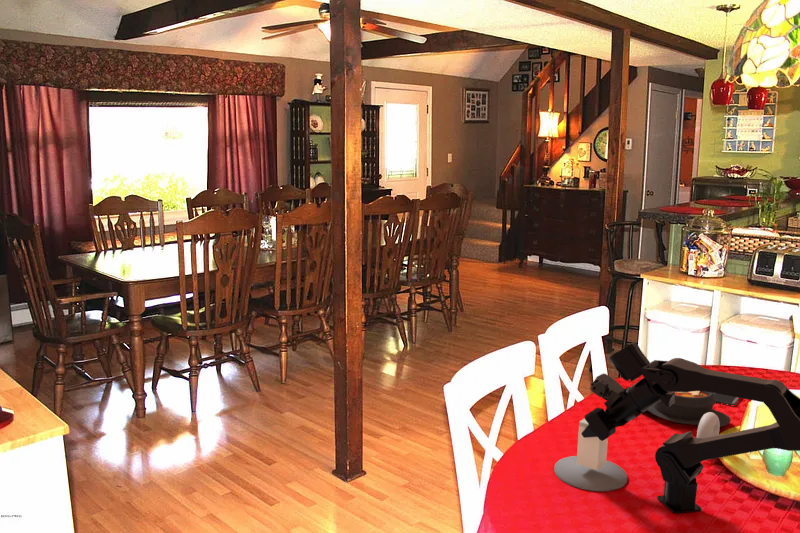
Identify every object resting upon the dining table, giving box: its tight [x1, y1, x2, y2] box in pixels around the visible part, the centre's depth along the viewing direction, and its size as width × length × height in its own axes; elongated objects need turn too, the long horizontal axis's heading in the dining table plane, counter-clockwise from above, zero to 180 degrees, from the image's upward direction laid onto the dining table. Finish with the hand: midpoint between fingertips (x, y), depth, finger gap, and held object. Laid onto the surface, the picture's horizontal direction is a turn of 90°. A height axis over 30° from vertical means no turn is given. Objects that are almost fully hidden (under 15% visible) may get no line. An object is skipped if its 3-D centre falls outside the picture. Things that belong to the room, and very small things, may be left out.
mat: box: [553, 455, 628, 492], centre depth 162 cm, size 16×16×1 cm
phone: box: [714, 393, 741, 406], centre depth 213 cm, size 8×1×15 cm
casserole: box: [646, 391, 732, 428], centre depth 196 cm, size 25×19×8 cm
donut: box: [696, 412, 721, 438], centre depth 174 cm, size 10×4×10 cm, turn 141°
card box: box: [576, 417, 609, 470], centre depth 160 cm, size 5×4×10 cm
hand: (587, 432), depth 161 cm, fingers closed on card box, 4 cm apart
